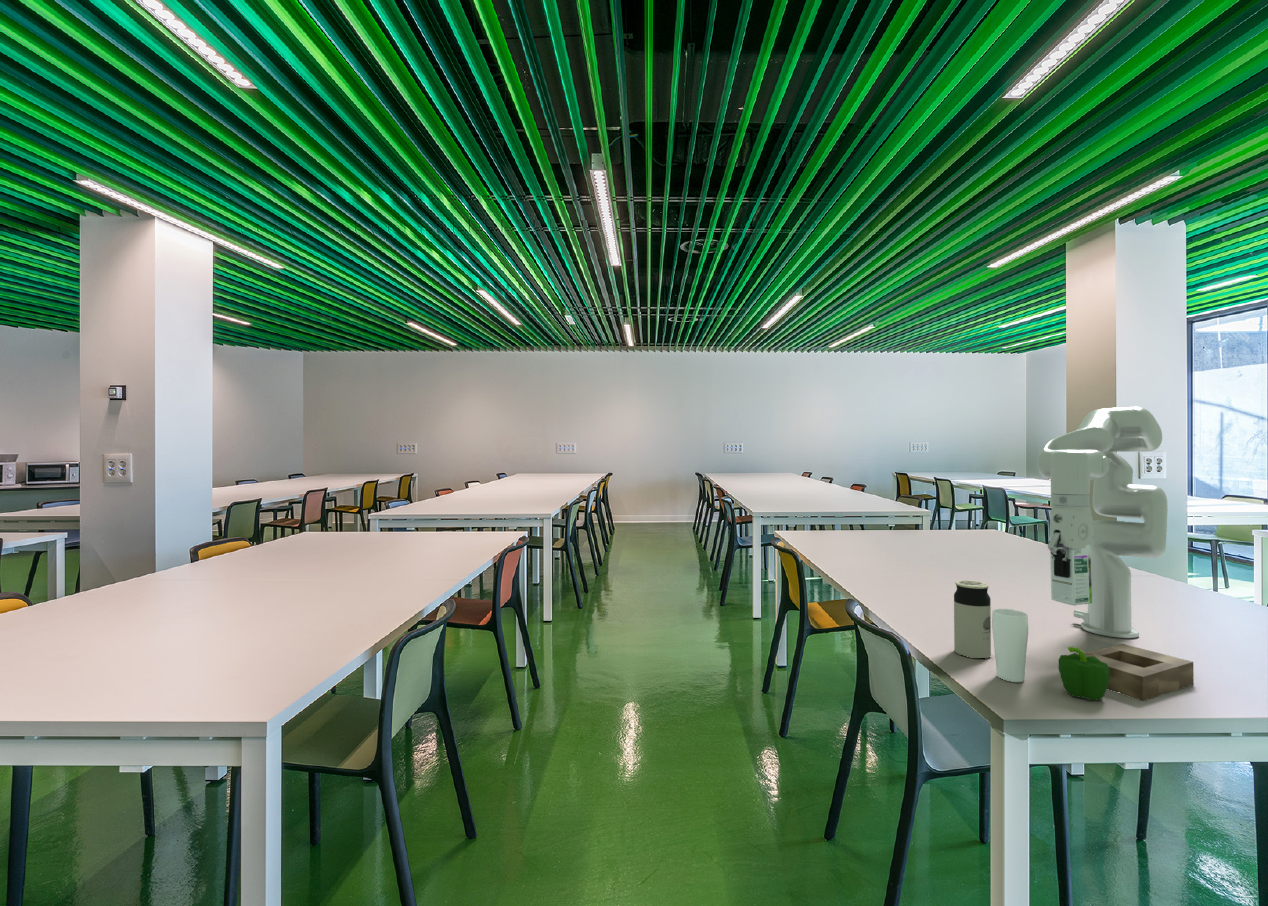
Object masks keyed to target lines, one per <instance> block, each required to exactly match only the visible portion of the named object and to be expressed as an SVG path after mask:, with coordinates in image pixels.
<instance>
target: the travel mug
mask: <svg viewBox="0 0 1268 906" xmlns="http://www.w3.org/2000/svg"><path fill="white" fill-rule="evenodd" d="M954 584H955V585H956V590H955V592H954V594H953V626H954V627H953V628H954V629H953V632H954V633H953V634H954V635H953V640H954V641H953V642H954V643H953V645H954V646H953V647H954V648H953V650H954V652H955V653H957V654H958V655H959V656H961V655H963V656H962V657H964V656H968V657H972V658H971V659H974V658H985V659H989V658H991V657H990V656H992V641H991V640H992V639H991V638H992V634H991V632H992V624H991V623H992V621H991V618H992V617H991V615H992V614H991V613H992V612H991V611H992V610H991V608H992V607H991V596H990V595H989V593H988V589H989V588H990V585H989V584H988V583H986V582H983V581H977V580H968V579H966V580H965V579H964V580H963V579H962V580H956V581H954ZM968 657H967V658H968Z"/></svg>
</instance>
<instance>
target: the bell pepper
mask: <svg viewBox="0 0 1268 906" xmlns="http://www.w3.org/2000/svg"><path fill="white" fill-rule="evenodd" d="M1067 649H1068V651H1069V653H1070V654H1067V655H1066V654H1060V656H1059V658H1058V672H1059V676H1060V679H1061V683H1062V685H1063V688H1064V690H1065V691H1066V693H1067V694H1069V696H1072V697H1077V698H1084V699H1087V700H1090V701H1100V700H1102V698H1103V697H1105V695H1106V692H1107V691H1108V690H1107V687H1108V683H1109V679H1110V669H1109V667H1108V665H1107V664H1106V663H1103V662H1101V661H1100V660H1099V659H1097V658H1096V657H1095V656H1089V657H1085V654H1084V653H1085V652H1084V651H1083V650H1081V649H1080V648H1078V647H1074V646H1069V647H1067ZM1075 652H1076V653H1075Z"/></svg>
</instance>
